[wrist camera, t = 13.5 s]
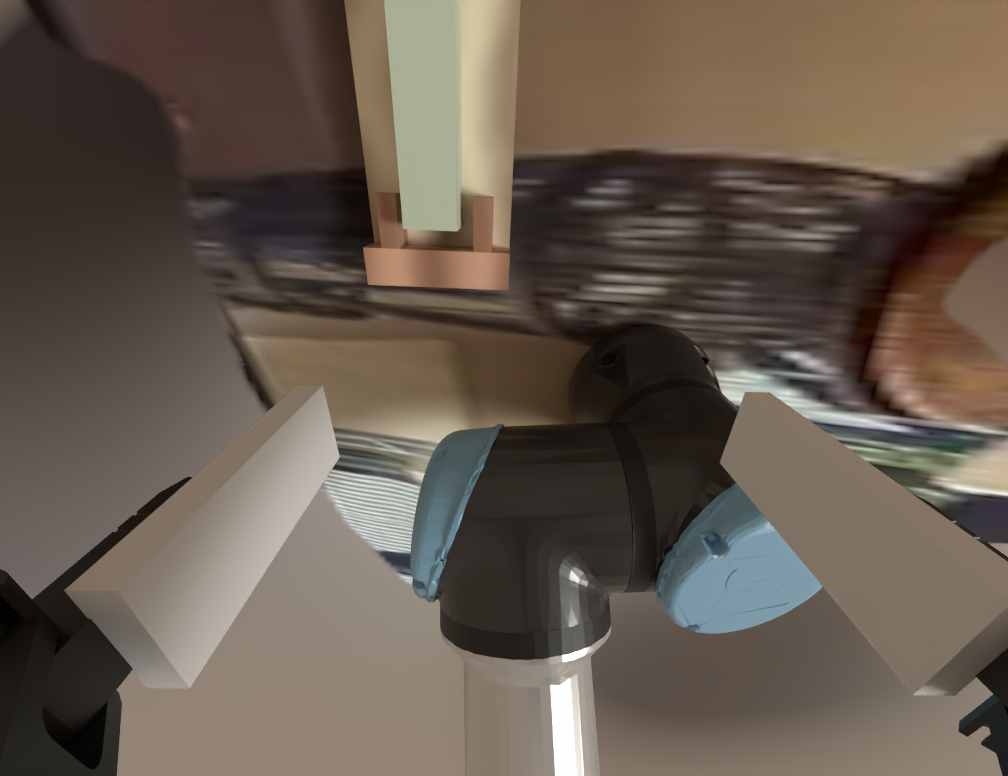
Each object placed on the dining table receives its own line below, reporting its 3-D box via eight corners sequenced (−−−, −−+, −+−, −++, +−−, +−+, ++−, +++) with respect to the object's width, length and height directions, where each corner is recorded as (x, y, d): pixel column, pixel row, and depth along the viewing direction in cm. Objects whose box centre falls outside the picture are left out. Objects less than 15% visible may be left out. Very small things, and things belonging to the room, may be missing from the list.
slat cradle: (535, -365, 19) (543, -499, 15) (507, 279, 35) (508, 290, 31) (304, -383, 19) (254, -524, 15) (382, 274, 35) (368, 284, 31)
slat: (458, -252, 20) (446, -378, 15) (463, 225, 31) (456, 231, 27) (385, -258, 20) (351, -386, 15) (417, 223, 31) (403, 229, 27)
